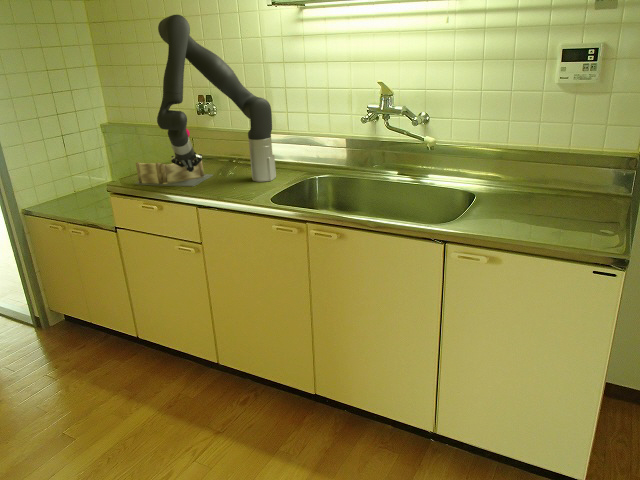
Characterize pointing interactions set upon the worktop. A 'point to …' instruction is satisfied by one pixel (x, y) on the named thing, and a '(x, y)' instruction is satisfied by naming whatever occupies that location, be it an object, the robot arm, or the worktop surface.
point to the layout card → (181, 181)
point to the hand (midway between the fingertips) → (191, 169)
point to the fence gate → (180, 172)
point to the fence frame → (149, 173)
